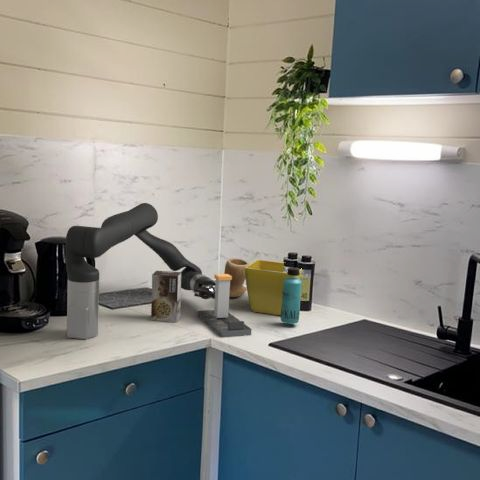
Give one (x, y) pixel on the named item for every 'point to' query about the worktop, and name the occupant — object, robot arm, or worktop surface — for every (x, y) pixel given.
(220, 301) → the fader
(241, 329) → the console
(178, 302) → the coffee box
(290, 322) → the beverage bottle
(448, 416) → the worktop surface
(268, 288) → the flower pot
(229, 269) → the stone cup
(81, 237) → the robot arm
